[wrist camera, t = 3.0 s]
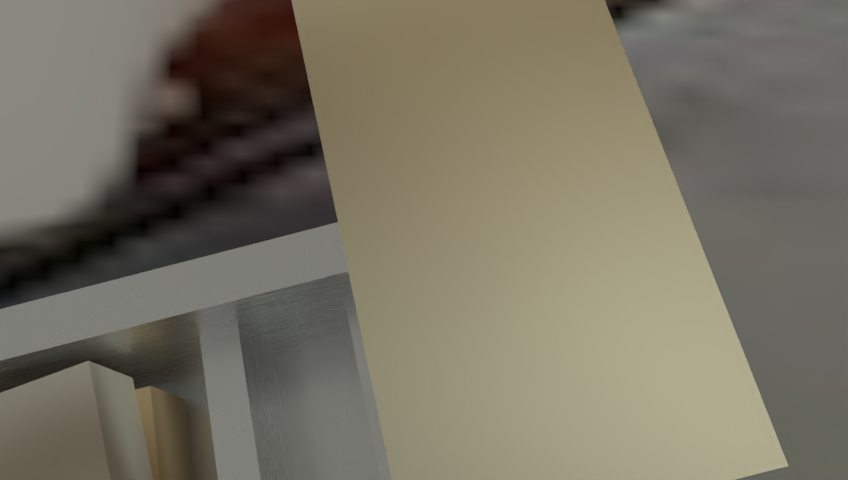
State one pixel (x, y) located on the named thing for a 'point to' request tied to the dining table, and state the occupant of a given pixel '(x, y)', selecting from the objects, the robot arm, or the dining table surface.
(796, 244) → the dining table surface
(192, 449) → the offcut rack
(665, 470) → the beige wooden block
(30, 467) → the offcut pile
